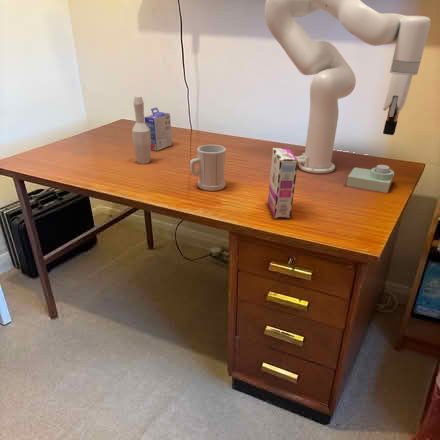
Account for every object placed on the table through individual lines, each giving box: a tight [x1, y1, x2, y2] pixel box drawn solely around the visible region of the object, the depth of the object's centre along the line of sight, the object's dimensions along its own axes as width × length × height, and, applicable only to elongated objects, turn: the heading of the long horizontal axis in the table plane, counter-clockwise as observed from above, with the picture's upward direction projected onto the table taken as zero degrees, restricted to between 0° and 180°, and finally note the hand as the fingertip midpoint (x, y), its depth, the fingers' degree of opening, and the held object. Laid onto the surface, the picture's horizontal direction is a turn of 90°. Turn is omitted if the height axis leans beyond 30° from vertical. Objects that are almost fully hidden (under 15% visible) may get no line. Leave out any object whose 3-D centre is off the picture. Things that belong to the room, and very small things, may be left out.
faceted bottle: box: [131, 95, 152, 165], centre depth 153 cm, size 6×6×22 cm
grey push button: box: [375, 164, 391, 173], centre depth 139 cm, size 4×4×2 cm
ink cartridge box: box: [144, 107, 173, 152], centre depth 170 cm, size 10×6×14 cm, turn 148°
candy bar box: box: [267, 147, 299, 219], centre depth 120 cm, size 11×5×16 cm, turn 5°
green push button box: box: [345, 166, 395, 194], centre depth 141 cm, size 13×10×5 cm
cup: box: [189, 144, 227, 192], centre depth 136 cm, size 10×9×12 cm
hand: (388, 133), depth 134 cm, fingers closed
